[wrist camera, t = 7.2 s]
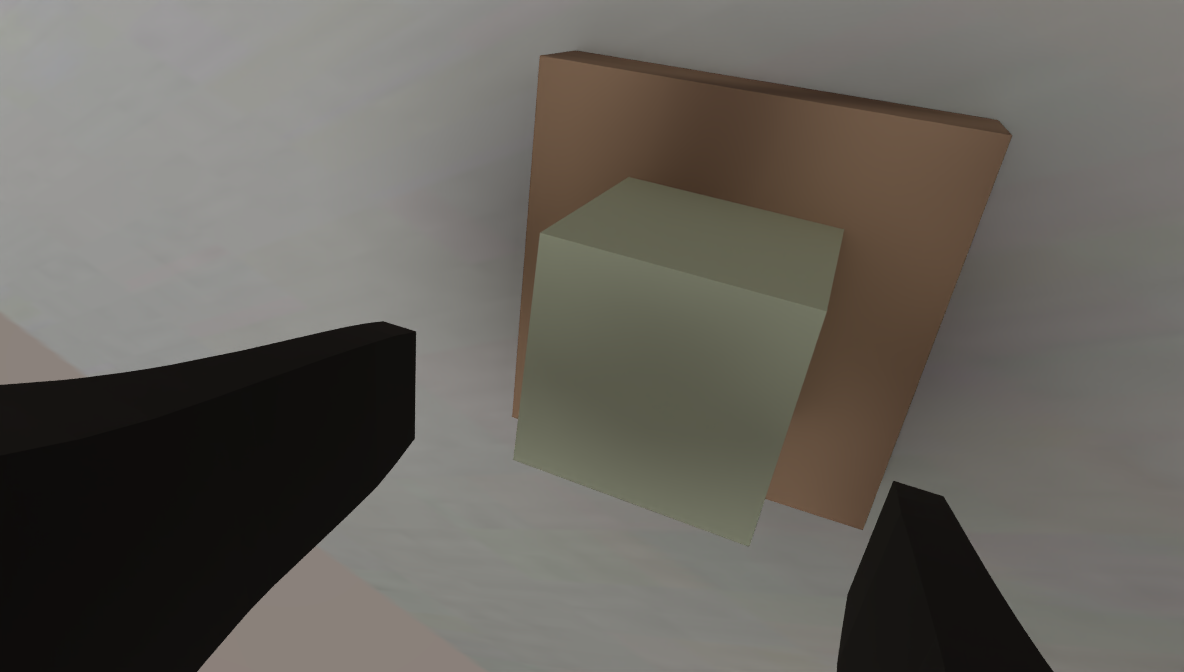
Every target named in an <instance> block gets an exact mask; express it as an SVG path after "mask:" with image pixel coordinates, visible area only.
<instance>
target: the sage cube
mask: <svg viewBox="0 0 1184 672" xmlns="http://www.w3.org/2000/svg"><path fill="white" fill-rule="evenodd" d="M843 233H844V229H840V228H836V227H832V226H828V225H824V224H820V223H816V222H812V221H808V220H803V219H799V218H795V217H791V216H787V215H783V214H779V213H775V212H771V211H766V210H762V209H758V208H754V207H750V206H746V205H742V204H738V203H734V202H730V201H725V200H721V199H717V198H713V197H709V196H705V195H701V194H697V193H693V192H689V191H684V190H680V189H676V188H672V187H668V186H664V185H660V184H656V183H652V182H647V181H643V180H639V179H635V178H631V177H628V178H626V179H625V180H623V181H622V182H620V183H618V184H617V185H615V186H614V187H612V188H610V189H609V190H607V191H606V192H604V193H602V194H601V195H599V196H598V197H596V198H594V199H593V200H591V201H590V202H588V203H587V204H585V205H583V206H582V207H580V208H579V209H577V210H575V211H574V212H572V213H571V214H569V215H567V216H566V217H564V218H563V219H561V220H559V221H558V222H556V223H555V224H553V225H552V226H550V227H548V228H547V229H545V230H544V231H542V232H540V237H539V246H538V254H537V263H536V271H535V280H534V288H533V297H532V305H531V314H530V322H529V331H528V339H527V348H526V356H525V365H524V374H523V382H522V391H521V399H520V408H519V416H518V425H517V433H516V442H515V450H514V459H513V460H515V461H518V462H521V463H523V464H526V465H529V466H532V467H534V468H537V469H540V470H542V471H545V472H548V473H551V474H553V475H556V476H559V477H561V478H564V479H567V480H570V481H572V482H575V483H578V484H580V485H583V486H586V487H589V488H591V489H594V490H597V491H599V492H602V493H605V494H608V495H610V496H613V497H616V498H618V499H621V500H624V501H626V502H629V503H632V504H635V505H637V506H640V507H643V508H645V509H648V510H651V511H654V512H656V513H659V514H662V515H664V516H667V517H670V518H673V519H675V520H678V521H681V522H683V523H686V524H689V525H692V526H694V527H697V528H700V529H702V530H705V531H708V532H711V533H713V534H716V535H719V536H721V537H724V538H727V539H730V540H732V541H735V542H738V543H740V544H743V545H746V546H750V543H751V540H752V537H753V534H754V531H755V528H756V525H757V522H758V519H759V516H760V512H761V509H762V506H763V503H764V500H765V497H766V494H767V491H768V488H769V485H770V482H771V479H772V476H773V473H774V470H775V467H776V464H777V461H778V458H779V455H780V452H781V449H782V446H783V443H784V440H785V437H786V434H787V431H788V428H789V425H790V422H791V419H792V416H793V413H794V409H795V406H796V403H797V400H798V397H799V394H800V391H801V388H802V385H803V382H804V379H805V376H806V373H807V370H808V367H809V364H810V361H811V358H812V355H813V352H814V349H815V346H816V343H817V340H818V337H819V334H820V331H821V328H822V325H823V322H824V319H825V316H826V313H827V308H828V304H829V299H830V294H831V290H832V285H833V280H834V275H835V271H836V266H837V261H838V257H839V252H840V247H841V242H842V238H843Z"/></svg>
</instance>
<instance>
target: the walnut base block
mask: <svg viewBox="0 0 1184 672" xmlns="http://www.w3.org/2000/svg"><path fill="white" fill-rule="evenodd" d="M1011 137H1012V135H1011V134H1010V133H1009V131H1008V130H1007V129H1006V128H1005V127H1004V126H1003V125H1002V124H1001V123H1000V122H999V121H998V120H994V119H988V118H982V117H976V116H970V115H964V114H958V113H952V112H946V111H940V110H933V109H927V108H921V107H915V106H909V105H903V104H897V103H891V102H885V101H879V100H873V99H867V98H861V97H855V96H848V95H842V94H836V93H830V92H824V91H818V90H812V89H806V88H800V87H794V86H788V85H782V84H776V83H770V82H763V81H757V80H751V79H745V78H739V77H733V76H727V75H721V74H715V73H709V72H703V71H697V70H691V69H685V68H678V67H672V66H666V65H660V64H654V63H648V62H642V61H636V60H630V59H624V58H618V57H612V56H606V55H600V54H593V53H587V52H581V51H569V52H562V53H555V54H548V55H541V56H540V61H539V74H538V87H537V100H536V114H535V127H534V140H533V153H532V166H531V179H530V192H529V205H528V218H527V231H526V244H525V257H524V271H523V284H522V297H521V310H520V323H519V336H518V349H517V362H516V375H515V388H514V401H513V414H512V417H514V418H517V419H518V416H519V408H520V399H521V391H522V382H523V374H524V365H525V356H526V348H527V339H528V331H529V322H530V314H531V305H532V297H533V288H534V280H535V271H536V263H537V254H538V246H539V237H540V232H542V231H544V230H545V229H547V228H548V227H550V226H552V225H553V224H555V223H556V222H558V221H559V220H561V219H563V218H564V217H566V216H567V215H569V214H571V213H572V212H574V211H575V210H577V209H579V208H580V207H582V206H583V205H585V204H587V203H588V202H590V201H591V200H593V199H594V198H596V197H598V196H599V195H601V194H602V193H604V192H606V191H607V190H609V189H610V188H612V187H614V186H615V185H617V184H618V183H620V182H622V181H623V180H625V179H626V178H628V177H631V178H635V179H639V180H643V181H647V182H652V183H656V184H660V185H664V186H668V187H672V188H676V189H680V190H684V191H689V192H693V193H697V194H701V195H705V196H709V197H713V198H717V199H721V200H725V201H730V202H734V203H738V204H742V205H746V206H750V207H754V208H758V209H762V210H766V211H771V212H775V213H779V214H783V215H787V216H791V217H795V218H799V219H803V220H808V221H812V222H816V223H820V224H824V225H828V226H832V227H836V228H840V229H844V233H843V238H842V242H841V247H840V252H839V257H838V261H837V266H836V271H835V275H834V280H833V285H832V290H831V294H830V299H829V304H828V308H827V313H826V316H825V319H824V322H823V325H822V328H821V331H820V334H819V337H818V340H817V343H816V346H815V349H814V352H813V355H812V358H811V361H810V364H809V367H808V370H807V373H806V376H805V379H804V382H803V385H802V388H801V391H800V394H799V397H798V400H797V403H796V406H795V409H794V413H793V416H792V419H791V422H790V425H789V428H788V431H787V434H786V437H785V440H784V443H783V446H782V449H781V452H780V455H779V458H778V461H777V464H776V467H775V470H774V473H773V476H772V479H771V482H770V485H769V488H768V491H767V494H766V497H765V499H768V500H771V501H774V502H777V503H780V504H783V505H787V506H790V507H793V508H796V509H799V510H802V511H805V512H808V513H811V514H814V515H817V516H821V517H824V518H827V519H830V520H833V521H836V522H839V523H842V524H845V525H848V526H852V527H855V528H858V529H861V530H863V528H864V525H865V523H866V520H867V517H868V515H869V512H870V510H871V507H872V504H873V502H874V499H875V496H876V494H877V491H878V488H879V486H880V483H881V481H882V478H883V475H884V473H885V470H886V467H887V465H888V462H889V459H890V457H891V454H892V451H893V449H894V446H895V444H896V441H897V438H898V436H899V433H900V430H901V428H902V425H903V422H904V420H905V417H906V415H907V412H908V409H909V407H910V404H911V401H912V399H913V396H914V393H915V391H916V388H917V386H918V383H919V380H920V378H921V375H922V372H923V370H924V367H925V364H926V362H927V359H928V356H929V354H930V351H931V349H932V346H933V343H934V341H935V338H936V335H937V333H938V330H939V327H940V325H941V322H942V320H943V317H944V314H945V312H946V309H947V306H948V304H949V301H950V298H951V296H952V293H953V291H954V288H955V285H956V283H957V280H958V277H959V275H960V272H961V269H962V267H963V264H964V262H965V259H966V256H967V254H968V251H969V248H970V246H971V243H972V240H973V238H974V235H975V232H976V230H977V227H978V225H979V222H980V219H981V217H982V214H983V211H984V209H985V206H986V203H987V201H988V198H989V196H990V193H991V190H992V188H993V185H994V182H995V180H996V177H997V174H998V172H999V169H1000V167H1001V164H1002V161H1003V159H1004V156H1005V153H1006V151H1007V148H1008V145H1009V143H1010V140H1011Z"/></svg>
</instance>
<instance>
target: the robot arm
mask: <svg viewBox="0 0 1184 672" xmlns="http://www.w3.org/2000/svg"><path fill="white" fill-rule="evenodd" d="M415 371H416V331H412V330H409V329H406V328H403V327H400V326H396V325H393V324H390V323H387V322H384V321H382V322H374V323H366V324H360V325H354V326H349V327H344V328H339V329H335V330H330V331H326V332H321V333H317V334H312V335H308V336H304V337H299V338H295V339H291V340H286V341H282V342H278V343H273V344H269V345H265V346H260V347H256V348H252V349H247V350H243V351H238V352H233V353H228V354H223V355H218V356H213V357H208V358H203V359H198V360H193V361H188V362H183V363H178V364H173V365H168V366H162V367H156V368H150V369H144V370H138V371H131V372H124V373H117V374H109V375H101V376H94V377H86V378H78V379H69V380H58V381H46V382H33V383H20V384H8V385H0V672H197V671H198V670H199V669H200V667H201V666H202V665H203V664H204V663H205V661H206V660H207V659H208V658H209V657H210V656H211V654H212V653H213V652H214V651H215V650H216V649H217V647H218V646H219V645H220V644H221V643H222V642H223V641H224V639H225V638H226V637H227V636H228V635H229V634H230V633H231V631H232V630H233V629H234V628H235V627H236V626H237V624H238V623H239V622H240V621H241V620H242V619H243V617H244V616H245V615H246V614H247V613H248V612H249V611H250V610H251V608H253V606H254V605H255V604H256V603H257V602H258V601H259V600H260V599H261V598H262V597H263V596H264V595H265V594H266V593H267V592H268V591H269V590H270V589H271V588H272V587H273V586H274V585H275V584H276V583H277V582H278V581H279V580H280V579H281V578H282V577H283V576H284V575H285V574H287V573H288V572H289V571H290V570H291V569H292V568H293V567H294V566H295V565H296V564H297V563H298V562H299V561H300V560H301V559H302V558H303V557H304V556H306V555H307V554H308V553H309V552H310V551H311V550H312V549H313V548H314V547H315V546H316V545H317V544H318V543H319V542H320V541H321V540H322V539H323V538H325V537H326V536H327V535H328V534H329V533H330V532H331V531H332V530H333V529H334V528H335V527H336V526H337V525H338V524H339V523H340V522H341V521H342V520H343V519H344V518H346V517H347V516H348V515H349V514H350V513H351V512H352V511H353V510H354V509H355V508H356V507H357V506H358V505H359V504H360V503H361V502H362V501H363V500H364V499H365V498H366V497H367V496H368V495H369V494H370V493H371V492H372V491H373V490H374V489H375V488H376V487H377V486H378V485H379V484H380V482H381V481H382V480H383V479H384V478H385V476H386V475H387V474H388V473H389V471H390V470H391V469H392V468H393V467H394V465H395V464H396V463H397V461H398V460H399V459H400V457H401V456H402V455H403V453H404V452H405V451H406V449H407V448H408V447H409V445H410V444H411V443H412V441H413V440H414V439H415ZM837 672H1053V670H1052V669H1051V668H1050V666H1049V665H1048V664H1047V662H1046V661H1045V659H1044V658H1043V657H1042V655H1041V654H1040V652H1039V651H1038V649H1037V648H1036V646H1035V645H1034V643H1033V642H1032V640H1031V639H1030V637H1029V636H1028V634H1027V633H1026V631H1025V630H1024V628H1023V627H1022V625H1021V624H1020V622H1019V621H1018V619H1017V618H1016V616H1015V615H1014V613H1013V612H1012V610H1011V608H1010V607H1009V605H1008V604H1007V602H1006V601H1005V599H1004V597H1003V596H1002V594H1001V593H1000V591H999V589H998V588H997V586H996V585H995V583H994V581H993V580H992V578H991V576H990V575H989V573H988V571H987V570H986V568H985V566H984V565H983V563H982V561H981V560H980V558H979V556H978V555H977V553H976V551H975V549H974V548H973V546H972V544H971V543H970V541H969V539H968V537H967V536H966V534H965V532H964V531H963V529H962V527H961V525H960V524H959V522H958V520H957V519H956V517H955V515H954V513H953V512H952V510H951V508H950V507H949V505H948V503H947V502H946V500H945V498H944V497H943V496H940V495H937V494H934V493H931V492H928V491H924V490H921V489H918V488H915V487H912V486H908V485H905V484H902V483H899V482H896V481H893V483H892V486H891V488H890V491H889V493H888V496H887V498H886V501H885V503H884V506H883V508H882V511H881V513H880V516H879V518H878V520H877V523H876V525H875V528H874V530H873V533H872V535H871V538H870V540H869V543H868V545H867V548H866V550H865V553H864V555H863V558H862V560H861V563H860V565H859V568H858V570H857V573H856V575H855V577H854V580H853V582H852V585H851V587H850V590H849V592H848V596H847V602H846V608H845V615H844V621H843V627H842V634H841V641H840V648H839V655H838V662H837Z"/></svg>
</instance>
